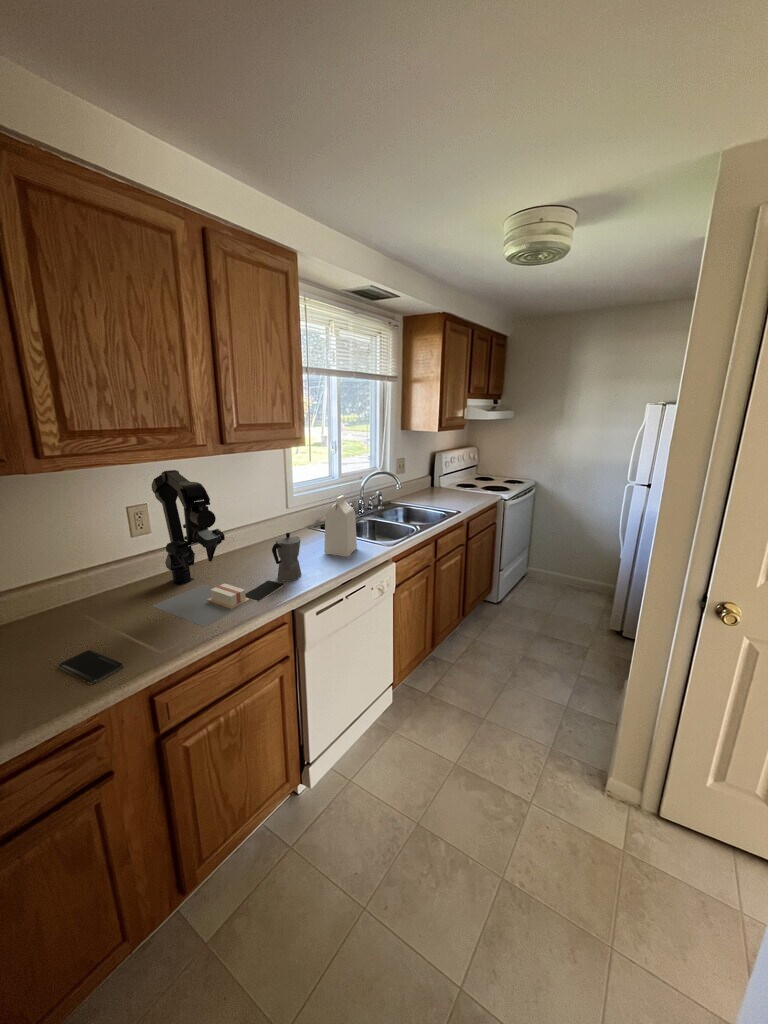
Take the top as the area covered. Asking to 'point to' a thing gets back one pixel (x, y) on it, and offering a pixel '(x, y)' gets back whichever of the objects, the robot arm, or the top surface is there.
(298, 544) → the coffeepot
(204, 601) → the mat
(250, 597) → the smartphone
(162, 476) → the robot arm
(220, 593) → the card box
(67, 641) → the top surface
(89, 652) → the phone
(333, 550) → the milk
